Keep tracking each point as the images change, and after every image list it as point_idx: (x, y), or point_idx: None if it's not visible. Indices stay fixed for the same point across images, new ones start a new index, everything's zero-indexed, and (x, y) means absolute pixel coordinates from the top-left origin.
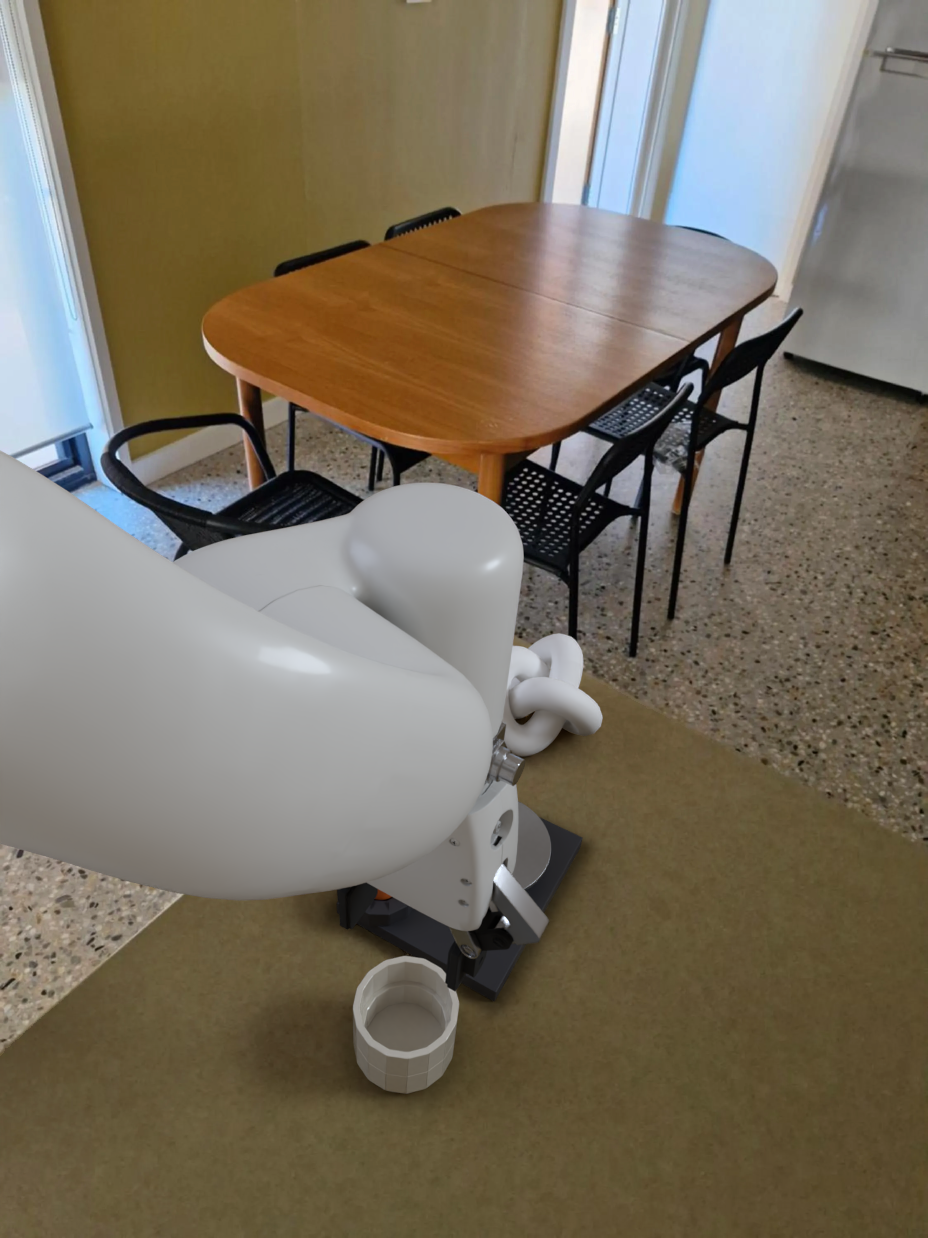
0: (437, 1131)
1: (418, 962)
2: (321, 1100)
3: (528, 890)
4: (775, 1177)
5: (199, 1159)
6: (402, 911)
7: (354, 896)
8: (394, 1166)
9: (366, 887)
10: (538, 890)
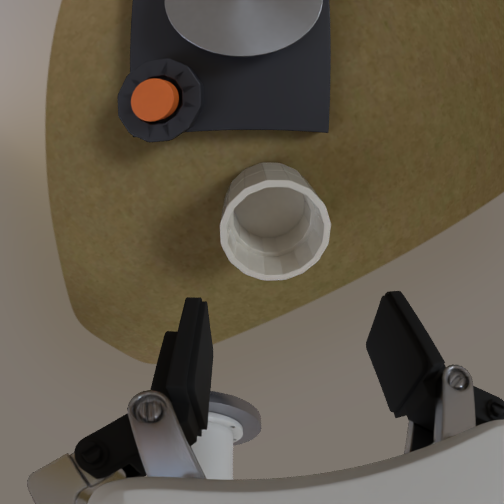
0: None
1: (262, 187)
2: (235, 267)
3: None
4: (498, 171)
5: None
6: (198, 112)
7: (206, 409)
8: (305, 274)
9: (203, 373)
10: None
